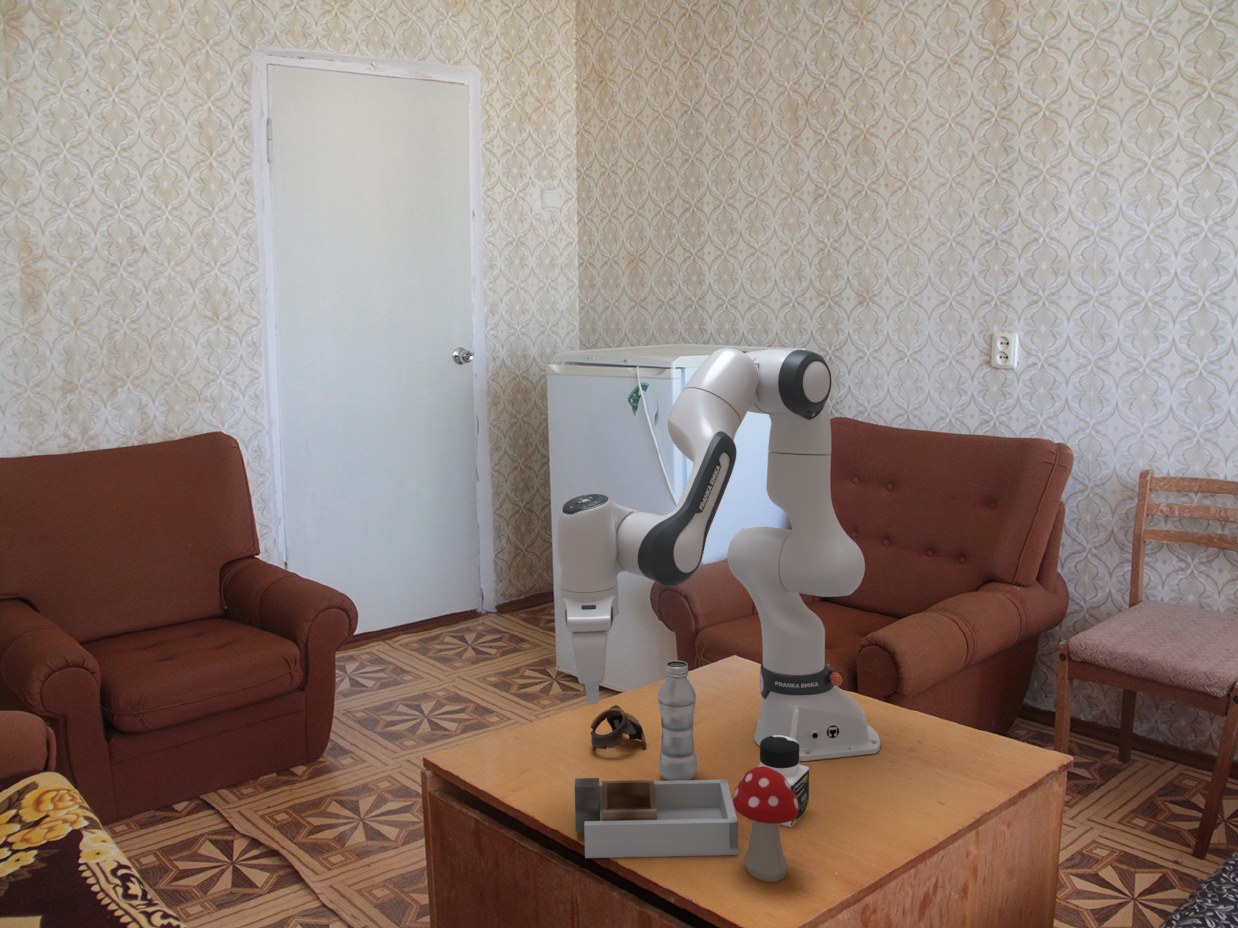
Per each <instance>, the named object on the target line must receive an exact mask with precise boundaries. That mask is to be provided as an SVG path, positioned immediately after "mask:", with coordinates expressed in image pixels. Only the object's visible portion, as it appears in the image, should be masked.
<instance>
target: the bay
mask: <svg viewBox="0 0 1238 928" xmlns="http://www.w3.org/2000/svg"><path fill="white" fill-rule="evenodd" d="M654 786H655V797H656V808H657V820H628V821H602V781H599V795H600V821H584V832H583V833H584V834H583V835H584V858H585V859H604V858H605V859H607V858H609V859H611V858H650V857H651V858H655V857H656V858H657V857H659V858H661V857H701V856H703V857H706V856H707V857H708V856H710V857H711V856H712V857H714V856H739V855H738V854H739V852H738V851H739V848H738V845H739V844H738V842H739V841H738V840H739V839H738V835H739V834H738V833H739V831H738V830H739V829H738V826H739V825H738V824H739V823H738V819H737V815H736V811H735V810H736V809H735V807H734V805H733V797H732V794H731V791H730V787H729V782H728V780H727V779H691V780H678V781H668V780H654Z"/></svg>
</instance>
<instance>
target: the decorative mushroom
mask: <svg viewBox="0 0 1238 928" xmlns="http://www.w3.org/2000/svg"><path fill="white" fill-rule="evenodd" d="M732 802H733V806H734V810H736V811H735V812H738V813H739V815H741V816H742V817H744V818H746V819H749V820H751V822H752V823H751V831H750V837H749V842H748V847H747V849H746V851H745V854H744V857H743V862H744V865H745V868H746V871H747V872H748V874H750V876H752V877H754V878H755V879H757V880H760V881H762V882H765V883H767V882H768V883H776V882H780V881H782V880H783V879H784V877H785V876H786V873H787V870H788V862H787V861H786V857H785V855H784V850H783V846H782V840H781V833H780V832H781V831H780V824H781V823H786V822H789V821H791V820H793V819H795V818H796V817H797V815H798V812H799V803H798V799H797V797H796V795H795V793H794V792H793V791H792V789H791V787H790V785H789V783H788V782H787V780H786V779H785V778H784V776H783V775H782V774H780V773H779V772H778V771H776V770H774V769H772V768H769V767H758V766H756V767H753V768H751V769H749V770H748V771H746V772H745V773H744V774H743V776H742V777H741V780H740V781H739V783H738V784H737V785H736V787H735V790H734V793H733V797H732Z"/></svg>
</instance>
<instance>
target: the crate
mask: <svg viewBox="0 0 1238 928" xmlns="http://www.w3.org/2000/svg"><path fill="white" fill-rule="evenodd" d="M654 781H655V779H642V780H641V779H635V780H632V779H631V780H602V781H601V782H602V821H628V820H657V808H656V797H655V786H654ZM599 782H600V777H587V778H586V777H585V778H576V777H575V780H574V810H575V811H574V813H575V814H574V816H575V821H574V823H575V832H576V833H577V832H578V833H581V832H582V833H584V821H600V795H599Z"/></svg>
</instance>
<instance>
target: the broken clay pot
mask: <svg viewBox="0 0 1238 928" xmlns="http://www.w3.org/2000/svg"><path fill="white" fill-rule="evenodd" d="M605 720H606V721H607V723H608V725H609V727H610V728H611V732H609V733H606V734H598V733H596V731H597V728H598V727H599V726H600V725H601V723H602V722H604V721H605ZM590 728H591V729H592V730H591V731H590V735H591V739H590V741H591V746H592V749H593V750H594V751H596V750H597V749H600V750H607V749H608V748H609V749H611V748H614V747H615V746H624V747H625V745H626V744H625V740H624V735H627V736H628V739H629V740H631V741H632V740H639V741H641V742H642V746H643V747H642V748H643V749H644V750H646V749H647V747H648V746H647V742H646V740H647V739H646V735H645V733H644V730H643V728H642V726H641V724H640V722H639V720H638V719H637V718H636V717H635V716H634V715H632V714H630V713H628V712H625V711H624V710H623V709H622V707H620V706H619V705H617V704H615V705H613V706H611V707H609V709H606V710H604V711H602V712H600V714H598V715H597V716H595V718H594V719H593V721H592V722H591V724H590Z"/></svg>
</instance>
